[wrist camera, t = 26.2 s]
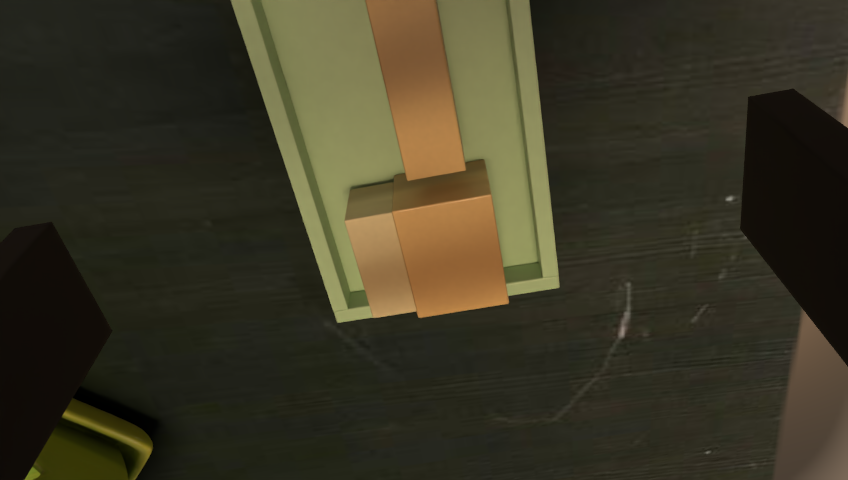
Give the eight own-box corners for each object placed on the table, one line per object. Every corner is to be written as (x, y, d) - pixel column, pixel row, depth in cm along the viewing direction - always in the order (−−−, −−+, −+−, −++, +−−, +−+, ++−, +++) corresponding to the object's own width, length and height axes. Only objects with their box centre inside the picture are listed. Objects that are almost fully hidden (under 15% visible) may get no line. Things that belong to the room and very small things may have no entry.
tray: (188, -177, 26) (172, -176, 24) (496, -248, 25) (502, -253, 23) (340, 300, 37) (337, 323, 36) (553, 266, 36) (559, 288, 35)
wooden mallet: (264, -115, 26) (244, -106, 23) (434, -153, 26) (436, -149, 23) (377, 282, 36) (373, 325, 33) (501, 262, 35) (509, 304, 32)
